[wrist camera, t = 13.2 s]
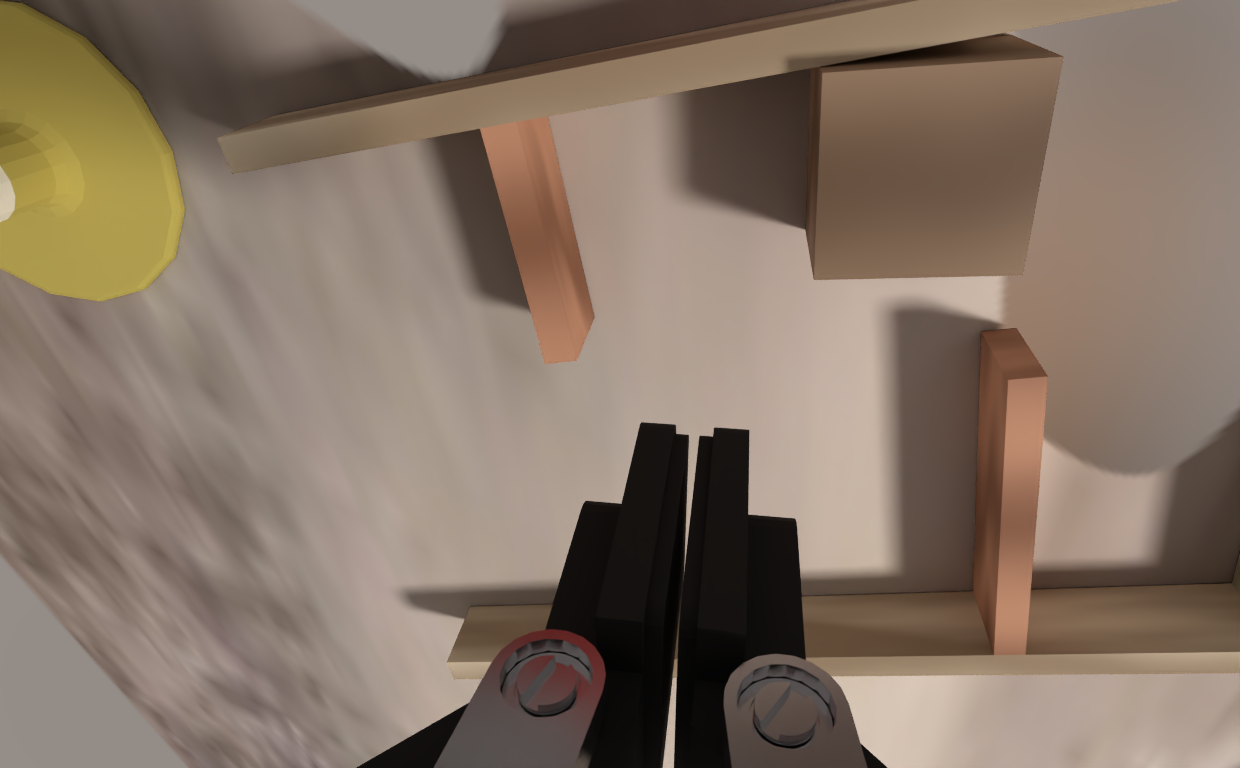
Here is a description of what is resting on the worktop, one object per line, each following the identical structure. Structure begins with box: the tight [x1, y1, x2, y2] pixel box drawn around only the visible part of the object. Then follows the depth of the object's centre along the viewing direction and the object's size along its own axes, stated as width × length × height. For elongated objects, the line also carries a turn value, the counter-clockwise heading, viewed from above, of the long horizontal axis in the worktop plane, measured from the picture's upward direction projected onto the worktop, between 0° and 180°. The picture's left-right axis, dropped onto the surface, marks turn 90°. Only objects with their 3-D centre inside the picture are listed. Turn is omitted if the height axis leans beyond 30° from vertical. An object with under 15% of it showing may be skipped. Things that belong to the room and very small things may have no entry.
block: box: [805, 35, 1063, 280], centre depth 20 cm, size 5×5×4 cm
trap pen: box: [217, 0, 1240, 679], centre depth 24 cm, size 22×30×3 cm
